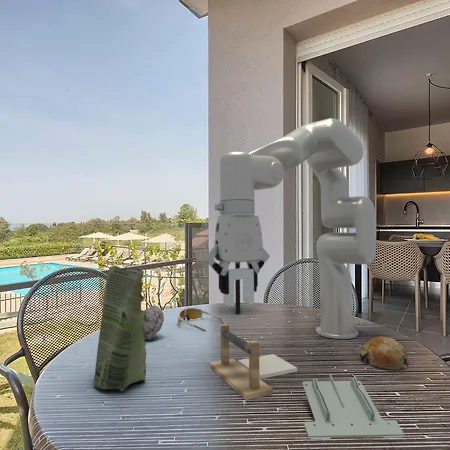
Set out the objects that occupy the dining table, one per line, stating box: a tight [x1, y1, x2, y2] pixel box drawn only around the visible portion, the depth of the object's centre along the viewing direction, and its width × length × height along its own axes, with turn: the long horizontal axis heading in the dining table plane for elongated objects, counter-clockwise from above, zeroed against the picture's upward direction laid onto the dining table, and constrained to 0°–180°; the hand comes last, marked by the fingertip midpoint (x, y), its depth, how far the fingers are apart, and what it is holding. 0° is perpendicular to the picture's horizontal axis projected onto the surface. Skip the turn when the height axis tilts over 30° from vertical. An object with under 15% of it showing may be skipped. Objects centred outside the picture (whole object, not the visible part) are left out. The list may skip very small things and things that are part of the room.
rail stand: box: [209, 323, 274, 401], centre depth 74 cm, size 18×6×10 cm, turn 25°
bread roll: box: [359, 336, 408, 371], centre depth 83 cm, size 10×10×8 cm
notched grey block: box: [222, 267, 255, 307], centre depth 75 cm, size 6×3×8 cm, turn 115°
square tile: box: [237, 353, 298, 380], centre depth 81 cm, size 10×10×1 cm
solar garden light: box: [234, 262, 241, 315], centre depth 135 cm, size 12×12×30 cm
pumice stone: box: [143, 305, 165, 341], centre depth 103 cm, size 10×8×10 cm
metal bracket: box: [302, 374, 405, 440], centre depth 59 cm, size 14×6×15 cm
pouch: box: [93, 264, 147, 392], centre depth 73 cm, size 11×12×25 cm
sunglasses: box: [177, 307, 226, 332], centre depth 119 cm, size 14×15×5 cm
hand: (238, 291), depth 75 cm, fingers closed on notched grey block, 6 cm apart
